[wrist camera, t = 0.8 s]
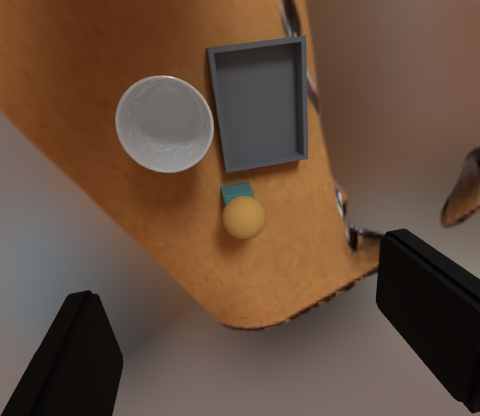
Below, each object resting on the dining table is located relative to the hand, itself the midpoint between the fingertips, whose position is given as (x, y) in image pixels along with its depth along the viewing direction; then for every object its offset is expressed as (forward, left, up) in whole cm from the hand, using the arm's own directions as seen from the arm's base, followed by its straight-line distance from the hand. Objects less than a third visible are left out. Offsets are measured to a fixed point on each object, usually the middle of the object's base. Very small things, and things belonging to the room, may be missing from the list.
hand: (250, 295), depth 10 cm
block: (+10, +3, -28) cm, 30 cm away
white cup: (-2, -3, -29) cm, 29 cm away
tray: (-1, +7, -28) cm, 29 cm away
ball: (+10, +3, -23) cm, 25 cm away
